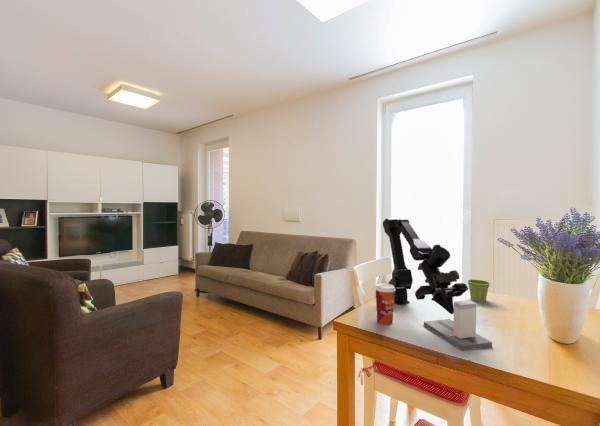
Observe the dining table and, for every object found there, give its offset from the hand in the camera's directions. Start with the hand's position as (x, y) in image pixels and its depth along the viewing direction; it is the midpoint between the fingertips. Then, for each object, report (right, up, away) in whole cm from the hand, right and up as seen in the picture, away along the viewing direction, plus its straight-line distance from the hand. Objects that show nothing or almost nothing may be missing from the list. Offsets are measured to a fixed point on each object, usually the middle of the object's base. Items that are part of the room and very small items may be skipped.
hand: (452, 313), depth 102 cm
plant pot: (+31, -6, +36) cm, 47 cm away
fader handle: (+1, -5, -5) cm, 8 cm away
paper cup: (-21, -7, +10) cm, 24 cm away
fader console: (0, -7, -1) cm, 7 cm away
